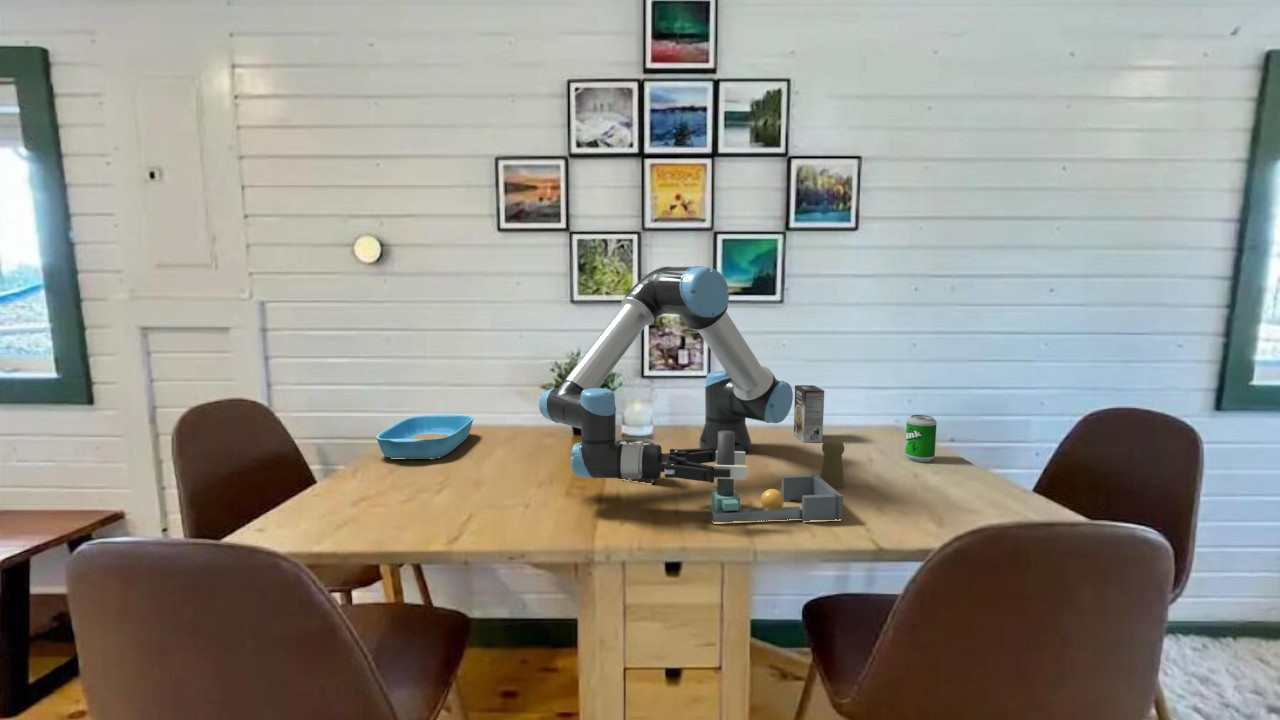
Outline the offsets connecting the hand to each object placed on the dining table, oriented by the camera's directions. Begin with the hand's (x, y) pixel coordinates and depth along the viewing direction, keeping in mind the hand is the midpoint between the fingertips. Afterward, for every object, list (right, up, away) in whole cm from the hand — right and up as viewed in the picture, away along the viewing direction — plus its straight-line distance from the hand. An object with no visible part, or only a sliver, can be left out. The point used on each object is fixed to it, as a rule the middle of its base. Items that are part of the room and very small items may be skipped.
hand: (745, 465), depth 146 cm
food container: (-23, -8, +26) cm, 35 cm away
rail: (+2, -11, -2) cm, 12 cm away
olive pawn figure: (+24, -8, +21) cm, 33 cm away
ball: (+6, -11, +3) cm, 13 cm away
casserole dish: (-86, -4, +57) cm, 103 cm away
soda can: (+54, -5, +42) cm, 69 cm away
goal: (+15, -10, +4) cm, 19 cm away
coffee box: (+29, -2, +65) cm, 72 cm away
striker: (-4, -11, +1) cm, 11 cm away
